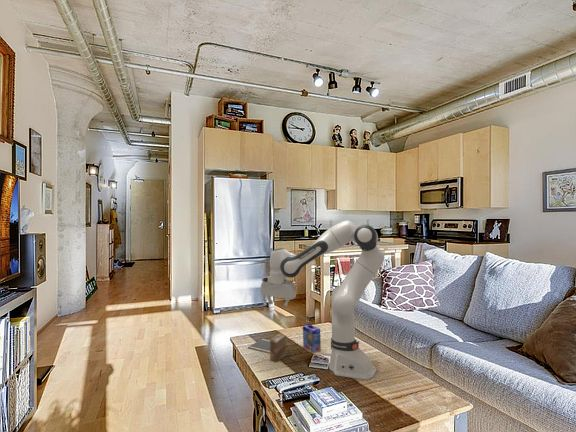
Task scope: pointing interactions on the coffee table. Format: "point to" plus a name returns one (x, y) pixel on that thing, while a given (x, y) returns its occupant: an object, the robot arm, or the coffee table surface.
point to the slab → (277, 347)
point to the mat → (261, 346)
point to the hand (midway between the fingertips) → (278, 305)
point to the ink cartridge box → (311, 338)
